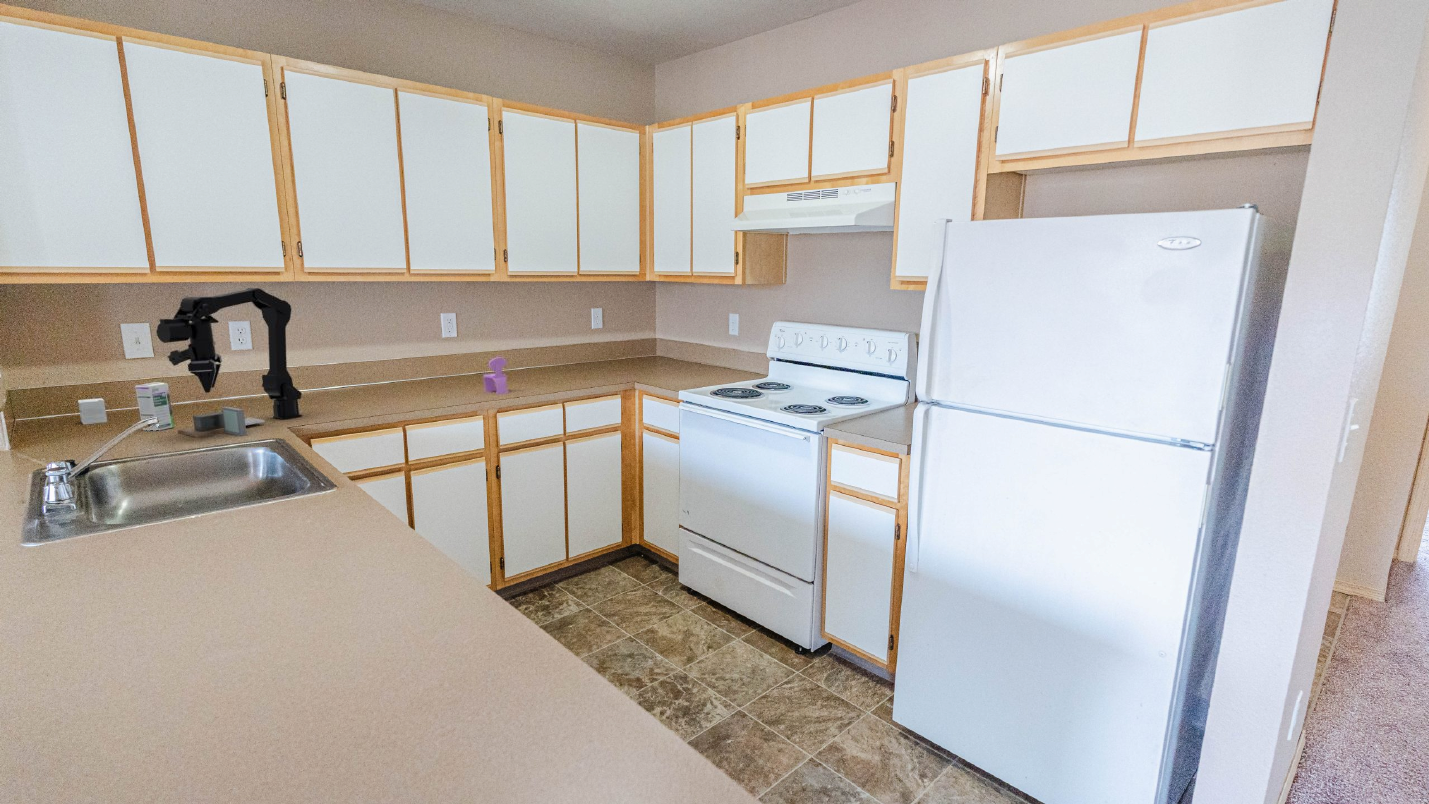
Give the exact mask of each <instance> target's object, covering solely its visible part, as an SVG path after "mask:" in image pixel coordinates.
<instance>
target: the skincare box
mask: <svg viewBox="0 0 1429 804" xmlns="http://www.w3.org/2000/svg"><path fill="white" fill-rule="evenodd" d="M77 403H78V409H79V415H80V421H81V423H82V425H93V424H100V423H108V416H107V412H106V404H105V400H104V399H103V398H102V397H101V398H89V399H88V398H87V399H79V400H77Z"/></svg>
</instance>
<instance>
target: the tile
mask: <svg viewBox="0 0 1429 804" xmlns="http://www.w3.org/2000/svg"><path fill="white" fill-rule="evenodd" d="M221 411H222V414H223V421H224V429H225V432H224V434H229V435H234V436H239V437H245V436H247V427H246V426H247V425H245V411H244V409H243V408H242V409H241V408H238V407H231V406H222V407H221Z"/></svg>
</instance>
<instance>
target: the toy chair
mask: <svg viewBox="0 0 1429 804" xmlns="http://www.w3.org/2000/svg"><path fill="white" fill-rule="evenodd" d="M506 364H507V361H506V359H505V358H504V357H503V356H498V357H494V358H492V359H491V360H490V361H489V362H488V366H489V369H490V370H492V371H493V372H494V373H490V374H483V378H482V379H483V382H484V393H490V392H496V393H495V395H503V394H508V393H510V391H509V388H508V387H507V386H508V385H507V380H508V377H507V374H505V373H503V368H504V367H505V366H506Z"/></svg>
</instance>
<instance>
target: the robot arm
mask: <svg viewBox="0 0 1429 804" xmlns="http://www.w3.org/2000/svg"><path fill="white" fill-rule="evenodd" d="M250 302H251V304H253V306H254V307H255V308H257V309H258V310H260V312H261V314H262V318H263V321H264V322H265V324H266V326H267V329H268V330H267V332H268V337H267V339H268V365H269V367H268V371H267V373H266V374H262V375H261V381H262V383H261V384H262V385H261V388H263V392H264V393H266V394H267V396H268V397H269V399H270V400H273V404H272V409H273V415H272V418H276V419H281V420H286V419H292V418H297V417H302V416H303V414H301V413H300V409H299V401H298V400H301V399H302V392H301V391H300V390H299V389H298V388H297V387H295V386H294V382H293V378H292V376H291V374H290V373H289V371H288V367H287V366H288V365H287V363H288V362H287V334H286V333H287V331H286V329H287V325H288V324H289V322H290V320H291V317H292V306H291V304H290V303H289V302H288V301H286V300H282V299H280V298H279V297H277V296H274V295H272V294H270V293H268V292H266V291H265V290H264V289H262V288H259V287H258V288H257V287H249V288H246V289H242V290H237V291H231V292H226V293H223V294H217V295H213V296H186V297H184V298H182V299H181V302H180V305H179V308H178V309H177V311H176V313H175V315H174V316H173V317H172V318H160V319H159V324H158V325H157V326H156V327H157V328H156V336H157V337H158V339H159V341H160V342H162V344H163V343H164V344H166V343H167V344H168V343H169V344H170V343H176V342H177V343H178V342H186V341H188V340H189V342H190V343H189V344H187V347H188V348H185V349H182V350H178V349H175V350H173V351H169V352H170V354H169V355H167V358H168V361H169V362H170V363H171V365H172V366H173V367H176V366H178V365H179V364H181V363H183V362H186V361H190V362H189V363H188V364H187V370H188V372H189V373H190V374H192V375H194V376H196V377H197V378H198V379H199V382H200V384H201V386H202V388H203V390H204V393H206V394H209V393H211V390H212V389H213V388H215V385H216V381H217V379H218V376H219V372H220V369H221V366H222V362H223V360H222V355H220V354H219V353H217V352H216V341H215V340H214V334H213V328H212V324H218V323H219V320H218V319H216V318H215V317H214V316H213V314H216V313H218V311H220V310H222V309H225V308H230V307H233V306H238V305H242V304H247V303H250Z"/></svg>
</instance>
